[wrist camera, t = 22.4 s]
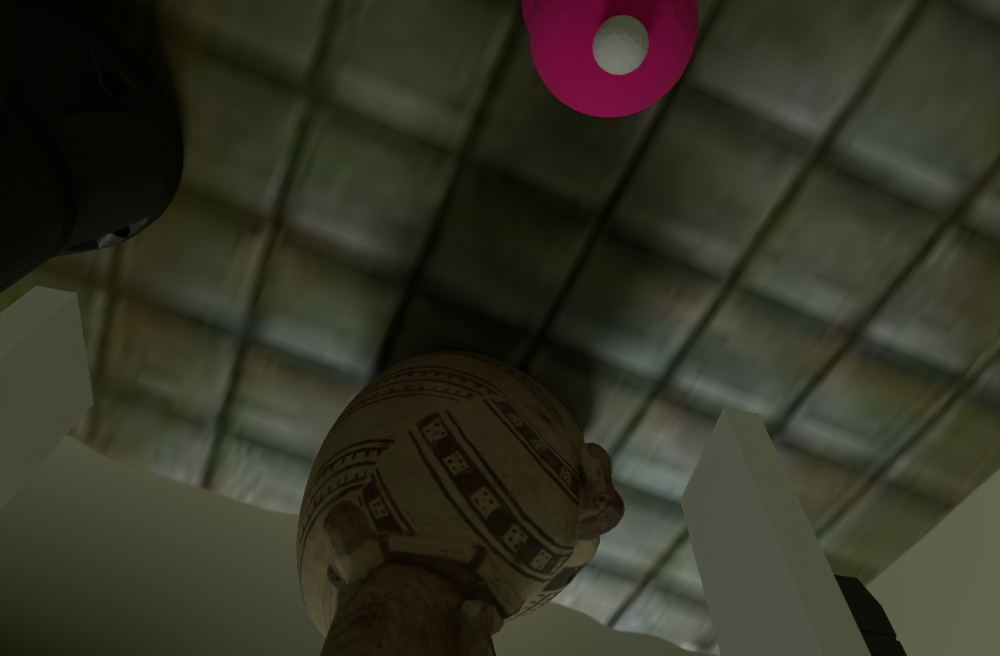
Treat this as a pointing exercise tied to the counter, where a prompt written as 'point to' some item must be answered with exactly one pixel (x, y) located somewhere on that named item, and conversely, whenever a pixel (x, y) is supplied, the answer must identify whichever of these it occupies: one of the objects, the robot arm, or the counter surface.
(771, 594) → the robot arm
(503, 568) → the ceramic vessel
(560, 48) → the pepper mill
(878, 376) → the counter surface
